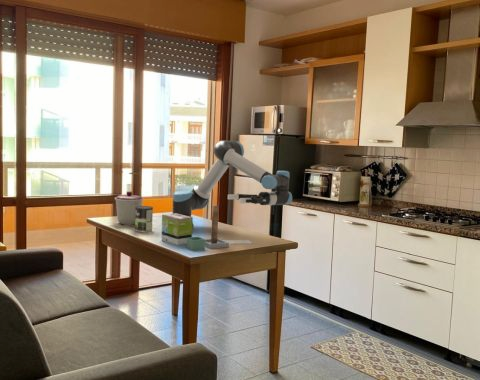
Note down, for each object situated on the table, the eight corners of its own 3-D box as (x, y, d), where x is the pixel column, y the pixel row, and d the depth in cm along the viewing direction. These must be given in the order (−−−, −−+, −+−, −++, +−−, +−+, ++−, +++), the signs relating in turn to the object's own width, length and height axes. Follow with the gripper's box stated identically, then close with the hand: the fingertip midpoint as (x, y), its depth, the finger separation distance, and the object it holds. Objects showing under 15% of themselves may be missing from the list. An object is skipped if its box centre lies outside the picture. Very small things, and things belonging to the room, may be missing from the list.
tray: (199, 244, 250) (199, 239, 250) (217, 243, 256) (218, 238, 255) (209, 249, 240) (209, 244, 240) (228, 247, 245) (228, 242, 245)
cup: (186, 248, 240) (186, 237, 240) (198, 247, 244) (199, 236, 243) (191, 251, 234) (192, 240, 234) (204, 250, 238) (205, 239, 237)
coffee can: (137, 232, 275) (138, 208, 274) (133, 229, 284) (133, 206, 283) (154, 231, 280) (155, 208, 278) (149, 228, 289) (150, 205, 288)
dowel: (210, 242, 248) (211, 205, 246) (215, 242, 250) (216, 205, 248) (212, 244, 245) (214, 206, 243) (218, 243, 247) (219, 206, 245)
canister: (133, 220, 314) (133, 189, 312) (148, 224, 302) (149, 191, 300) (108, 222, 301) (109, 190, 299) (124, 227, 289) (124, 193, 287)
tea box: (160, 241, 255) (161, 214, 253) (175, 238, 262) (176, 212, 261) (177, 246, 244) (178, 218, 243) (192, 243, 251) (193, 216, 250)
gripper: (278, 208, 254) (244, 209, 243) (255, 201, 275) (222, 202, 265) (279, 194, 253) (245, 195, 242) (255, 188, 274) (223, 188, 264)
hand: (233, 198), depth 254 cm, fingers open, 13 cm apart
